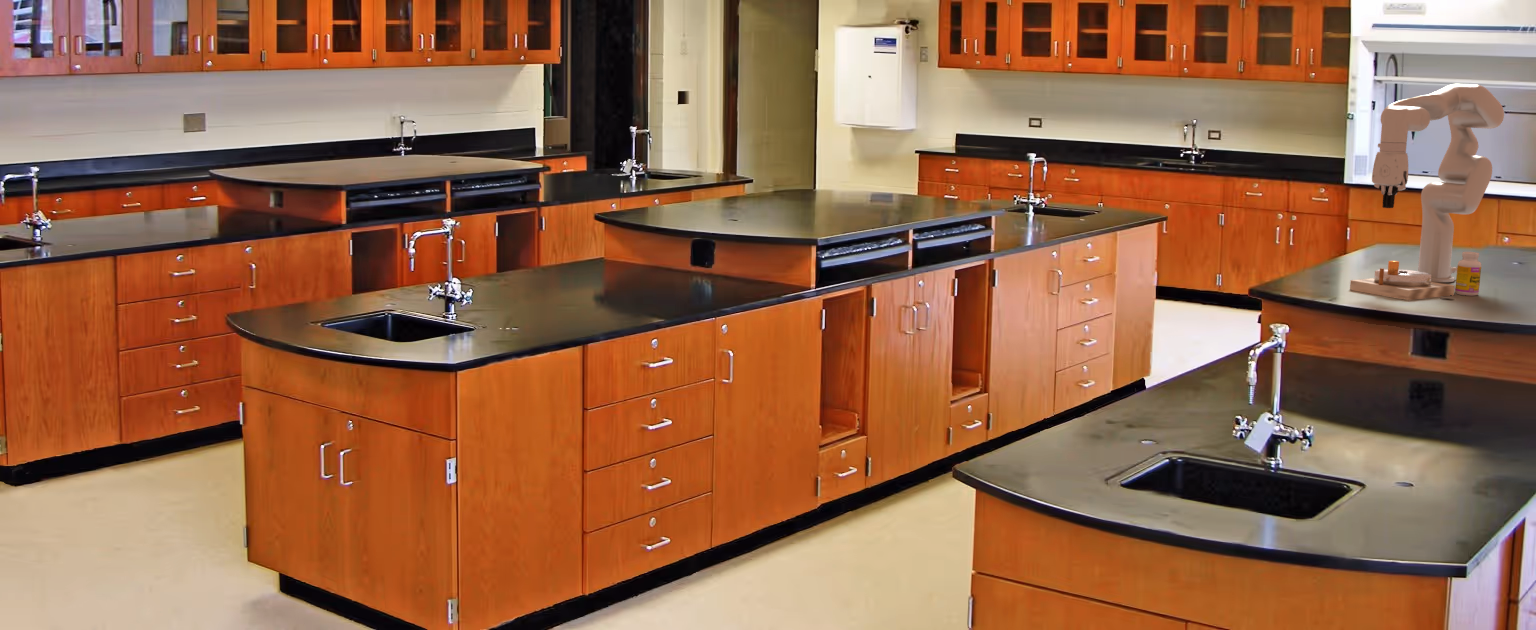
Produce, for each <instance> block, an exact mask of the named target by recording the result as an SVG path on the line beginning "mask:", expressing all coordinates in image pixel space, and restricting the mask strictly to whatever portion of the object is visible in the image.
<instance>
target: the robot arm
mask: <svg viewBox="0 0 1536 630" xmlns="http://www.w3.org/2000/svg"><path fill="white" fill-rule="evenodd" d="M1503 107H1504V106H1502V104H1501V103H1500V102H1499V100H1498V99H1497V98H1496V97H1495V96H1494V94H1492V92H1491V91H1489V89H1488V88H1486V87H1485V86H1483V85H1481V84H1472V83H1470V84H1469V83H1452V84H1448V85H1445V86H1444V87H1442V88H1439V89H1438V90H1435V91H1433V92H1430V93H1429V94H1423V95H1418V96H1414V97H1410V98H1405V99H1400V100H1398V101H1395V102H1393V103H1391V104H1388V105H1387V106H1386V107H1384V109H1383V110H1382V112H1381V115H1380V124H1381V132H1380V142H1379V143H1378V144H1377V148H1379V151H1376V155H1375V158H1374V162H1373V166H1372V174H1371V182H1372V184H1373V186H1374V187H1375V188H1377V189H1379V191H1380V192H1381V195H1382V208H1383V209H1394V205H1395V196H1397V194H1398V192H1400V191H1405V190H1406V188H1407V186H1406V185H1407V183H1408V181H1409V180H1408V179H1409V156H1408V153H1407V143H1408V132H1422V131H1424V130H1426V129H1427V128H1428V126H1429V124H1430V123H1431V122H1433V121H1436V120H1437V121H1438V120H1441V119H1443V118H1444V117H1447V119H1448V124H1449V130H1450V131H1449V132H1450V136H1451V137H1450V142H1449V145H1448V147H1447V150H1446V152H1445V153H1444V156H1443V158H1442V160H1441V163H1440V165H1439V168H1438V171H1437V174H1438V175H1437V176H1438V178H1439V180H1441V181H1433V182H1430V183H1427V184H1426V185H1425V186H1424V187H1423V189H1422V190H1421V193H1420V194H1421V195H1420V201H1421V210H1422V211H1421V212H1422V214H1421V215H1422V222H1421V232H1420V244H1419V246H1420V247H1419V255H1418V267H1417V271H1420V272H1425V273H1429V274H1431V282H1436V283H1453V282H1455V280H1456V279H1455V277H1454V276H1453V275H1452V274H1457V267H1456V266H1454V267H1452V265H1451V264H1452V253H1453V243H1454V242H1453V241H1454V233H1455V231H1454V230H1455V226H1454V225H1455V223H1454V221H1453V219H1452V217H1451V216H1450V214H1455V215H1456V214H1457V215H1470V214H1473V213H1474V212H1476V211H1477V209H1478V207H1479V206H1480V203H1481V201H1482V200H1483V197H1484V195H1485V192H1486V190H1487V188H1488V186H1489V184H1490V183H1491V182H1490V181H1491V179H1492V175H1493V164H1492V162H1491V160H1490V159H1489V158H1487V157H1486V156H1484V155H1477V152H1478V149H1479V141H1478V139H1477V136H1476V135H1475V134H1474V132H1473V130H1472V128H1473V129H1490V130H1491V129H1496V128H1498V127H1499V126H1501V124H1502V123H1503V121H1504V119H1505V111H1504V108H1503Z"/></svg>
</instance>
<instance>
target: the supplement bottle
mask: <svg viewBox="0 0 1536 630" xmlns="http://www.w3.org/2000/svg"><path fill="white" fill-rule="evenodd" d="M1461 257H1462V259H1460V260H1459V261H1458V263H1457V273H1456V279H1455V285H1454V293H1455V294H1456V295H1459V296H1460V295H1461V296H1465V295H1466V296H1468V297H1469V296H1470V297H1472V296H1473V297H1474V296H1479V293H1480V284H1481V273H1482V262H1480V261H1479V257H1480V253H1479V252H1474V251H1463V252H1462V254H1461Z"/></svg>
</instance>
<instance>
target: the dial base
mask: <svg viewBox="0 0 1536 630" xmlns="http://www.w3.org/2000/svg"><path fill="white" fill-rule="evenodd" d="M1384 269H1385V268H1383V267H1380V268H1379V270H1380V273H1379V283H1377V282H1375V281H1374V277H1371V278H1361V279H1360V278H1359V279H1352V280H1350V282H1349V284H1350V285H1349V286H1350V287H1349V291H1354V292H1359V293H1365V294H1372V295H1377V296H1383V297H1389V298H1395V299H1400V300H1404V301H1405V300H1406V301H1410V300H1411V301H1412V300H1421V299H1431V298H1441V296H1442V297H1449V296H1450V295H1452V296H1454V295H1455V294H1454V293H1455V285H1453V284H1447V283H1443V282H1431V285H1429V286H1422V287H1408V286H1394V285H1386V284H1383V276H1384ZM1450 297H1451V296H1450Z"/></svg>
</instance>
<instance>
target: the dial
mask: <svg viewBox="0 0 1536 630" xmlns="http://www.w3.org/2000/svg"><path fill="white" fill-rule="evenodd" d="M1379 273H1380V269H1376V270H1375V271H1374V277H1373V278H1374V281H1375V282H1377V283H1379ZM1383 284H1386V285H1394V286H1408V287H1422V286H1429V285H1431V274H1429V273H1425V272H1420V271H1418V270H1413V269H1411V270H1409V269H1400V261H1398V260H1388V264H1387V269H1385V268H1384V276H1383Z"/></svg>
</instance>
